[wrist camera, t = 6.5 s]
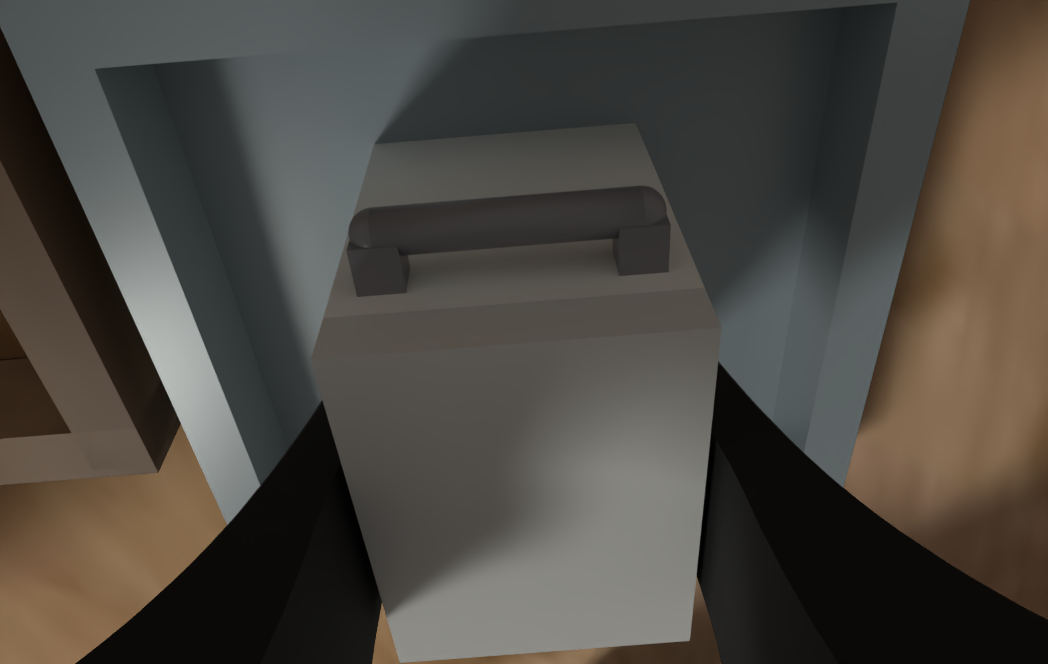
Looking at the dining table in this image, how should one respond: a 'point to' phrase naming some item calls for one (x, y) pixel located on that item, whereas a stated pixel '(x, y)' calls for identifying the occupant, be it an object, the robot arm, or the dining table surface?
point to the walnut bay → (65, 323)
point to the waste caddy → (522, 393)
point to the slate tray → (471, 110)
